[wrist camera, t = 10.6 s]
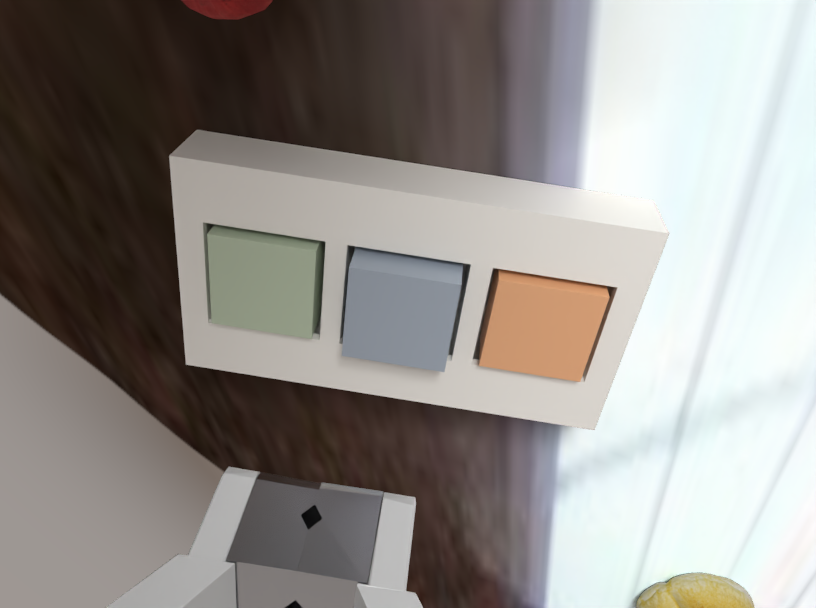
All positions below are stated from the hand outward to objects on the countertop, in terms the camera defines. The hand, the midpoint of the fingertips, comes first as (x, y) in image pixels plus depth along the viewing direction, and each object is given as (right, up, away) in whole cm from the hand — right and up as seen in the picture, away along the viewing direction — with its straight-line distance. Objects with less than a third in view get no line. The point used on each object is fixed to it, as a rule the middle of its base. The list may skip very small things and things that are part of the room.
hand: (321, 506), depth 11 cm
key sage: (-7, +6, +30) cm, 31 cm away
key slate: (+1, +4, +29) cm, 29 cm away
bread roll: (+25, -22, +47) cm, 58 cm away
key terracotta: (+9, +3, +30) cm, 31 cm away
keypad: (+1, +5, +31) cm, 32 cm away
